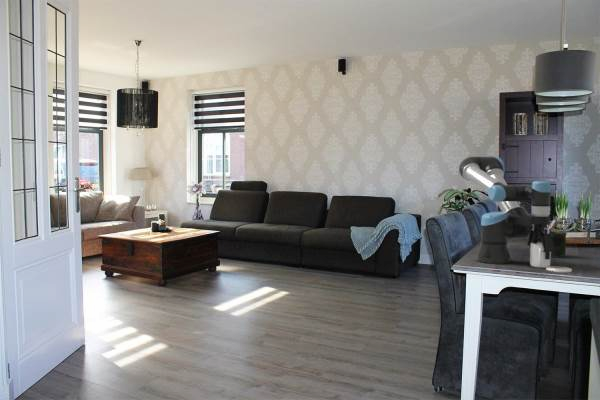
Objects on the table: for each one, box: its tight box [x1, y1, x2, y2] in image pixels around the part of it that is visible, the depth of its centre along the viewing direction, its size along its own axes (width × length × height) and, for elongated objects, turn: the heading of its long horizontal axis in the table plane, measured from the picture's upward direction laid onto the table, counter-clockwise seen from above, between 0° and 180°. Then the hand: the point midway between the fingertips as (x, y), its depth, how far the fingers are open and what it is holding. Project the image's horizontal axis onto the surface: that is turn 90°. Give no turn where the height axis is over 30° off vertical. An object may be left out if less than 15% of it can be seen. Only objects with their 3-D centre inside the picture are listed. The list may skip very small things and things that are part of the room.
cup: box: [529, 242, 551, 269], centre depth 229 cm, size 8×12×10 cm
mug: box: [550, 230, 568, 258], centre depth 258 cm, size 11×15×12 cm
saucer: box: [545, 265, 573, 274], centre depth 221 cm, size 10×10×1 cm
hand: (539, 264), depth 230 cm, fingers closed on cup, 10 cm apart
